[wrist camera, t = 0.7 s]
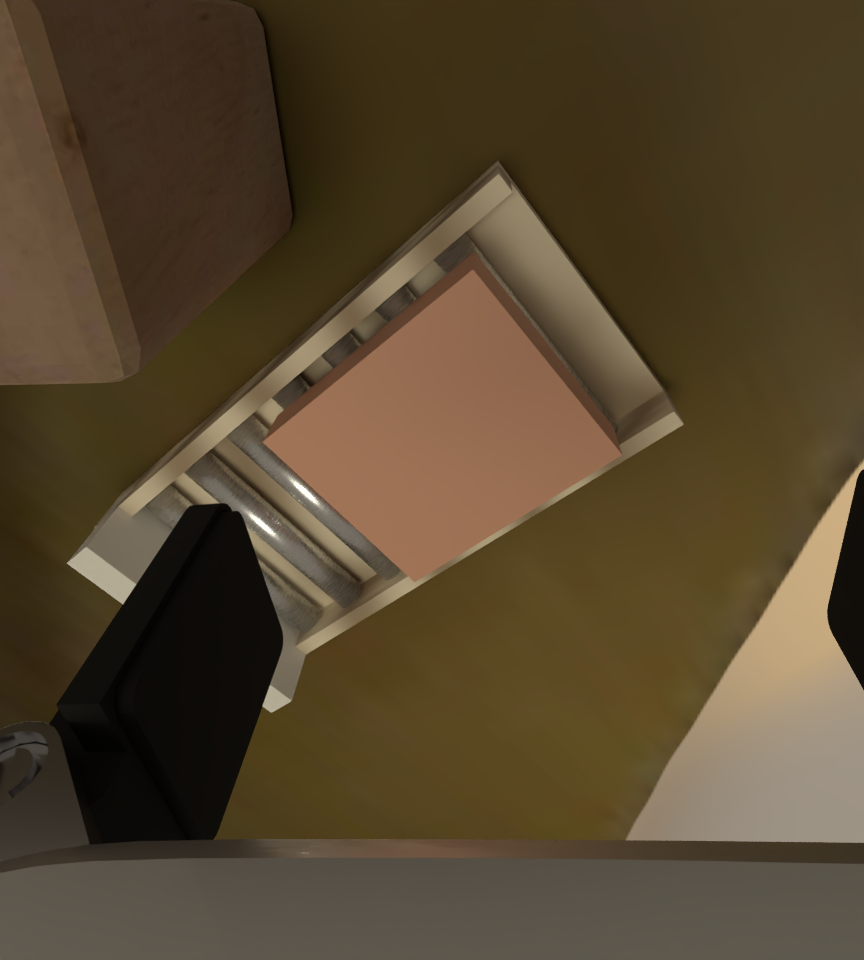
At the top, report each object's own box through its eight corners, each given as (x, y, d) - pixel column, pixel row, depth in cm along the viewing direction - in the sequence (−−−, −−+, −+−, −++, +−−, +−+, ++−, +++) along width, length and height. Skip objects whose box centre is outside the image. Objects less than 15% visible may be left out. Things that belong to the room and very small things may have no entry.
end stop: (136, 484, 44) (86, 546, 39) (313, 628, 50) (291, 700, 45) (118, 499, 45) (66, 563, 39) (294, 640, 51) (271, 712, 45)
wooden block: (265, 0, 31) (-4, -47, 14) (300, 231, 36) (135, 395, 19) (55, 16, 32) (-434, -11, 15) (120, 238, 37) (-186, 402, 20)
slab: (474, 251, 32) (472, 269, 30) (613, 426, 37) (622, 454, 34) (277, 415, 38) (262, 441, 36) (418, 550, 42) (414, 582, 40)
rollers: (465, 227, 34) (463, 237, 32) (615, 418, 39) (620, 435, 37) (153, 493, 44) (140, 511, 43) (304, 617, 49) (297, 637, 48)
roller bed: (498, 160, 34) (498, 173, 30) (667, 391, 40) (683, 424, 36) (122, 492, 46) (93, 527, 43) (293, 629, 52) (279, 670, 49)
